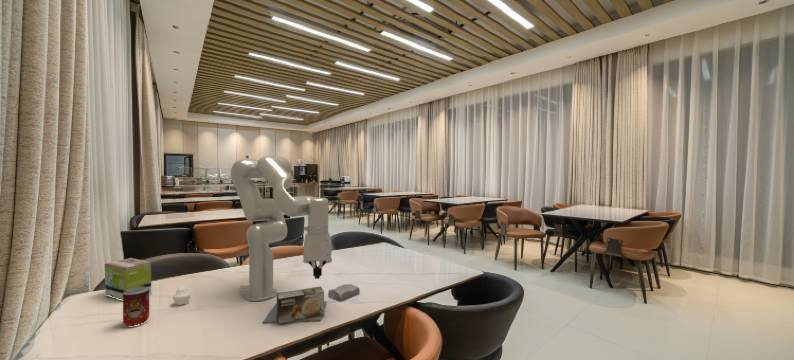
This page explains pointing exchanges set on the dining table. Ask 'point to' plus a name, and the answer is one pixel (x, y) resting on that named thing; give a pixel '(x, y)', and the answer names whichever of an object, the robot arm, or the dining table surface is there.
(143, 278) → the tea box
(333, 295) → the stone block
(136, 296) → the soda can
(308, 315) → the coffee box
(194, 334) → the dining table surface
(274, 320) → the rubber mat
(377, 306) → the dining table surface
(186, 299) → the muffin
